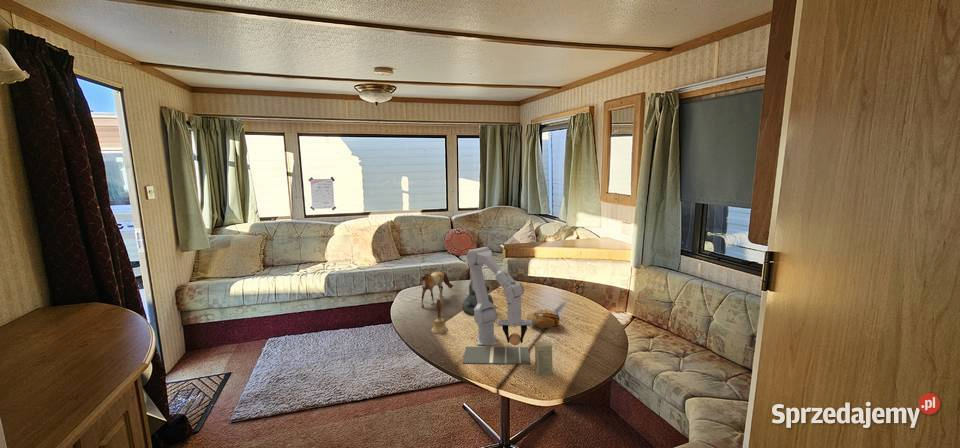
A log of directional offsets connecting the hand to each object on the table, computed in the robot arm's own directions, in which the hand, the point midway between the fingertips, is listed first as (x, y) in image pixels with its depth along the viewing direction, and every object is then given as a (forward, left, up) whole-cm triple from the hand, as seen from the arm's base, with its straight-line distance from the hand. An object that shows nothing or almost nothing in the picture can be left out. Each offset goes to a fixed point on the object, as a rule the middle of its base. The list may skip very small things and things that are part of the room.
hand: (514, 341), depth 165 cm
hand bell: (-26, -37, -7) cm, 46 cm away
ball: (0, 0, +1) cm, 1 cm away
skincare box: (+12, +11, -7) cm, 18 cm away
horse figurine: (-65, -44, -7) cm, 79 cm away
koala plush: (-52, -20, -7) cm, 56 cm away
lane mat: (-1, -8, -7) cm, 11 cm away
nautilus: (-29, +16, -7) cm, 34 cm away
